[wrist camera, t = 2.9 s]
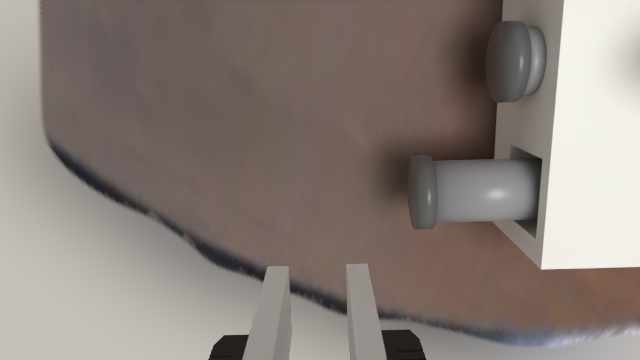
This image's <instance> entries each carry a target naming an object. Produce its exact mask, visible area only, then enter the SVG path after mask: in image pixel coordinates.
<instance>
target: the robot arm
mask: <svg viewBox="0 0 640 360" xmlns="http://www.w3.org/2000/svg"><path fill="white" fill-rule="evenodd" d="M346 265H347V312H348V338H349V348H350V349H349V350H350V360H426V358H425V354H424V352H423V348H422V346H421V343H420V340H419V338H418V337H417V336H416V335H414V334H413V333H412V332H411V331H410V330H381V328H380V323H379V319H378V314H377V309H376V304H375V299H374V294H373V290H372V285H371V280H370V275H369V270H368V265H367V264H346ZM291 335H292V324H291V306H290V287H289V268H288V266H268V268H267V271H266V275H265V279H264V282H263V286H262V290H261V293H260V297H259V300H258V304H257V308H256V311H255V315H254V319H253V322H252V326H251V330H250V333H249V335H224V336H223V337H222V338H221V339H220V340H219V341H218V342H217V343H216V344H215V345H214V346H213V349H212V352H211V354H210V358H209V359H208V360H289V352H290V344H291Z"/></svg>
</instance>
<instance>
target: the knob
mask: <svg viewBox="0 0 640 360" xmlns="http://www.w3.org/2000/svg"><path fill="white" fill-rule="evenodd" d="M541 171H542V159H541V158H511V159H478V160H445V161H433V160H432V158H431V156H430V155H412V156H411V158H410V162H409V168H408V205H409V213H410V218H411V223H412V226H413V228H414V229H432V228H433V227H434V225H435V223H441V222H476V221H511V220H538V208H539V196H540V184H541Z"/></svg>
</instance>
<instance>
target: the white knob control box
mask: <svg viewBox="0 0 640 360" xmlns="http://www.w3.org/2000/svg"><path fill="white" fill-rule="evenodd" d="M485 72H486V83H487V88H488V92H489V95H490V97H491V99H492V100H493V101H494V102H496V103H497V117H496V134H495V152H494V159H511V158H541V159H542V171H541V184H540V196H539V208H538V220H511V221H492V222H493V223H494V224H495V225H496V226H497V227H498V228H499V229H500V230H501V231H502V232H503V233H504V234H505V235H506V236H507V237H509V238H510V239H511V240H512V241H513V242H514V243H515V244H516V245H517V246H518V247H519V248H520V249H521V250H522V251H523V252H524V253H525V254H526V255H527V256H528V257H529V258H530V259H531V260H532V261H533V262H534V263H535V264H536V265H537V266H538V267H539V268H540V269H573V268H611V267H640V0H503V10H502V21H500V22H498V23H497V24H496V25H495V27H494V28H493V30H492V32H491V35H490V38H489V42H488V46H487V52H486V65H485Z"/></svg>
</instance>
